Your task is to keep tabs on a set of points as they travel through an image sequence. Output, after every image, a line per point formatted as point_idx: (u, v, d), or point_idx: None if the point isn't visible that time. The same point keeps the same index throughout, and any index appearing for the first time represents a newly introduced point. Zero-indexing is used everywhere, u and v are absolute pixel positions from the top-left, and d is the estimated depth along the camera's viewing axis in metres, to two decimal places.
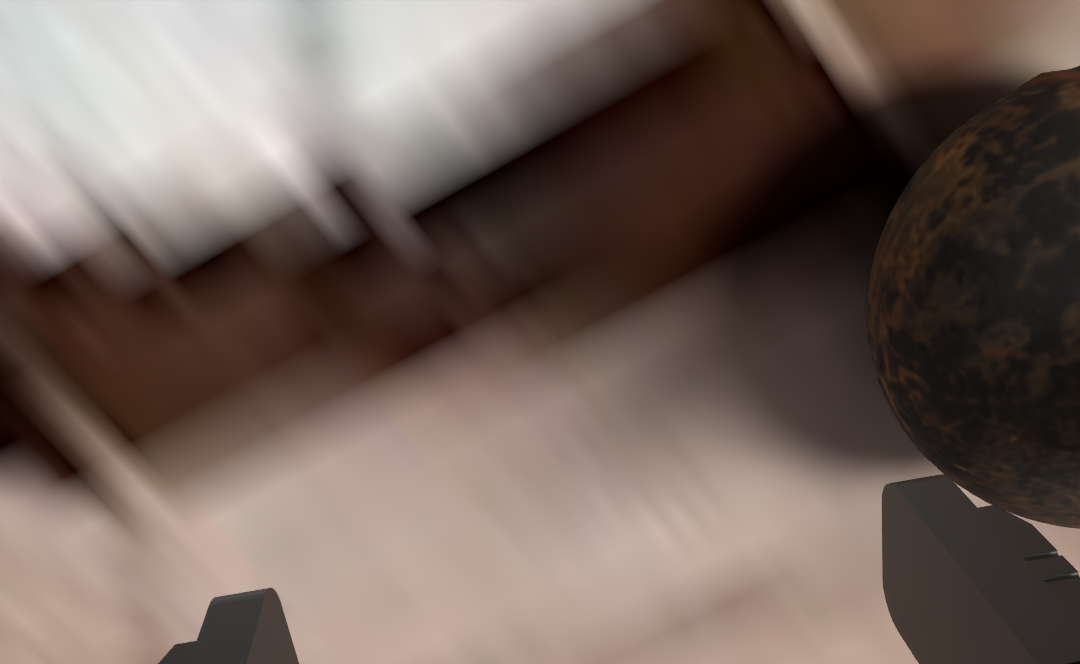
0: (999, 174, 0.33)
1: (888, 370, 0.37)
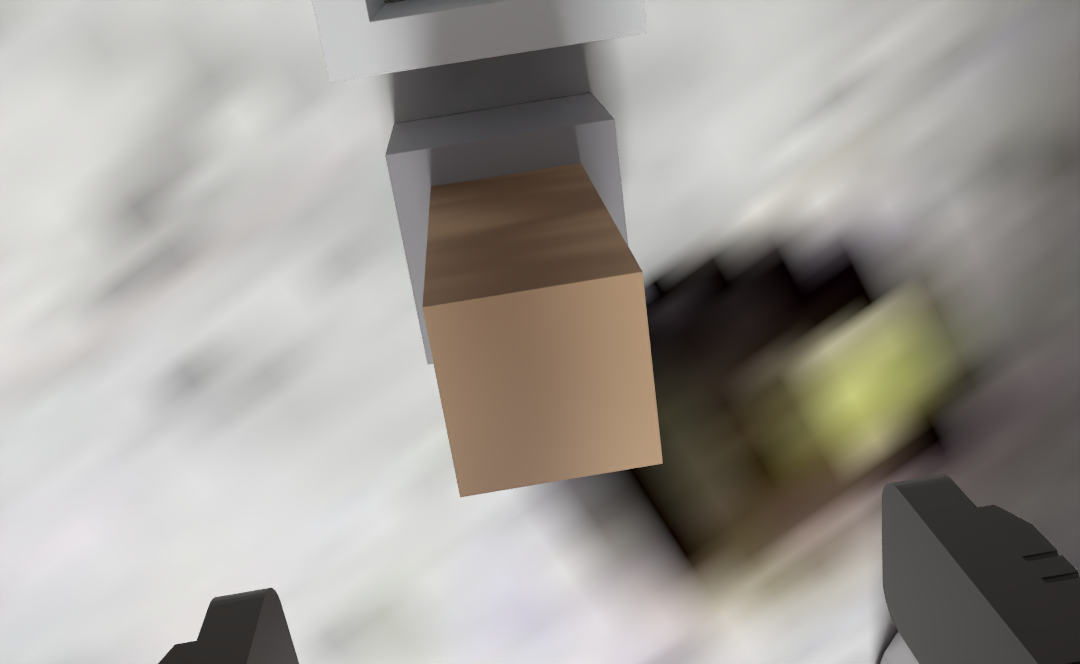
0: None
1: None
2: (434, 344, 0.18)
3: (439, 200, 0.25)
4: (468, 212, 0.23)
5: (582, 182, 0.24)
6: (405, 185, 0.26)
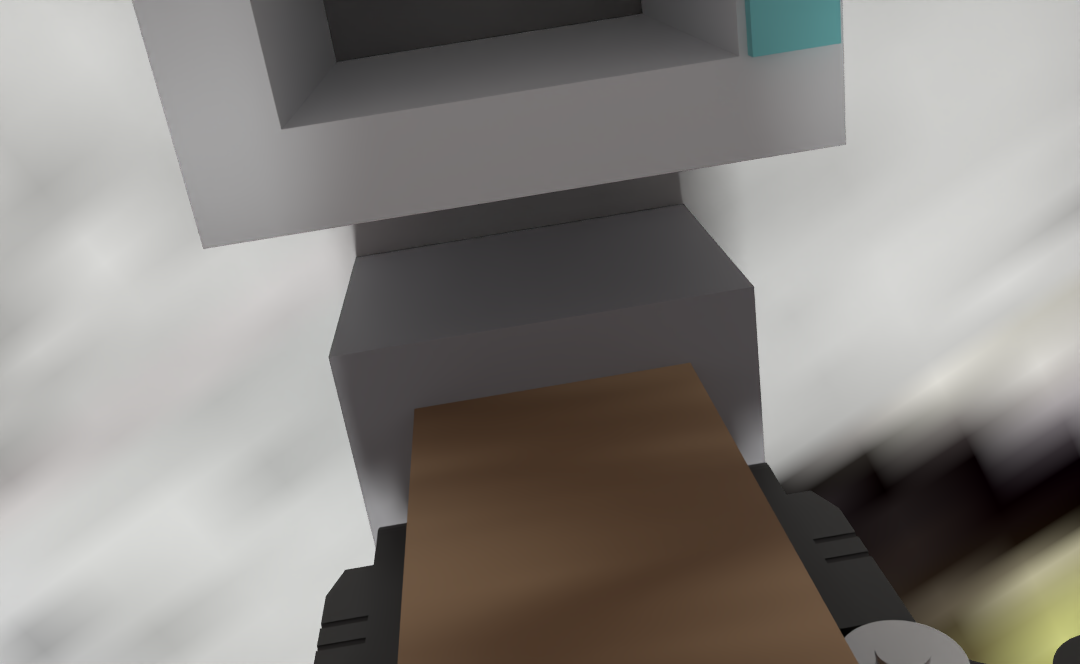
0: None
1: None
2: None
3: (429, 460, 0.13)
4: (488, 517, 0.11)
5: (710, 432, 0.12)
6: (367, 408, 0.14)
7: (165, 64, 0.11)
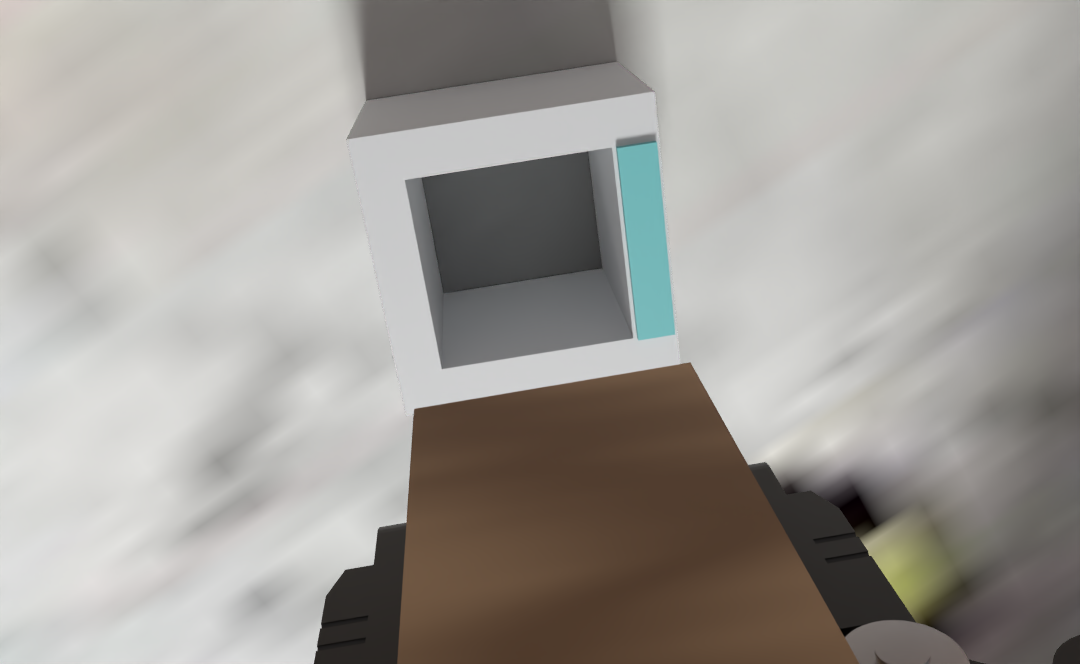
0: None
1: None
2: None
3: (429, 460, 0.13)
4: (488, 517, 0.11)
5: (710, 432, 0.12)
6: None
7: (396, 345, 0.26)
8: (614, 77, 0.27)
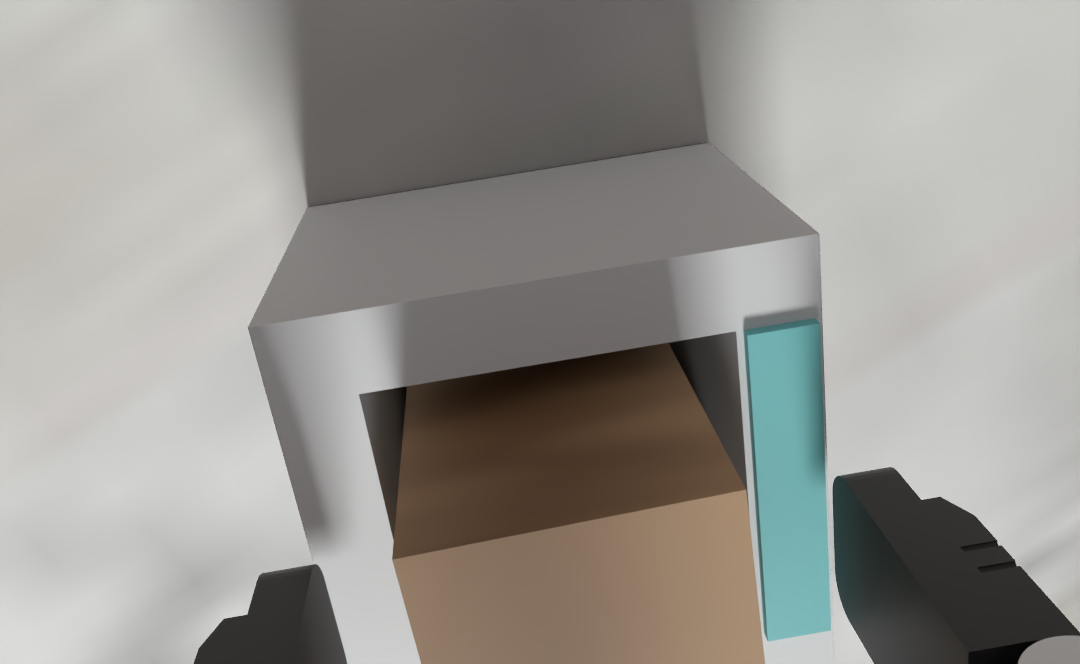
0: None
1: None
2: (414, 612, 0.11)
3: None
4: None
5: None
6: None
7: (350, 658, 0.15)
8: (720, 184, 0.16)
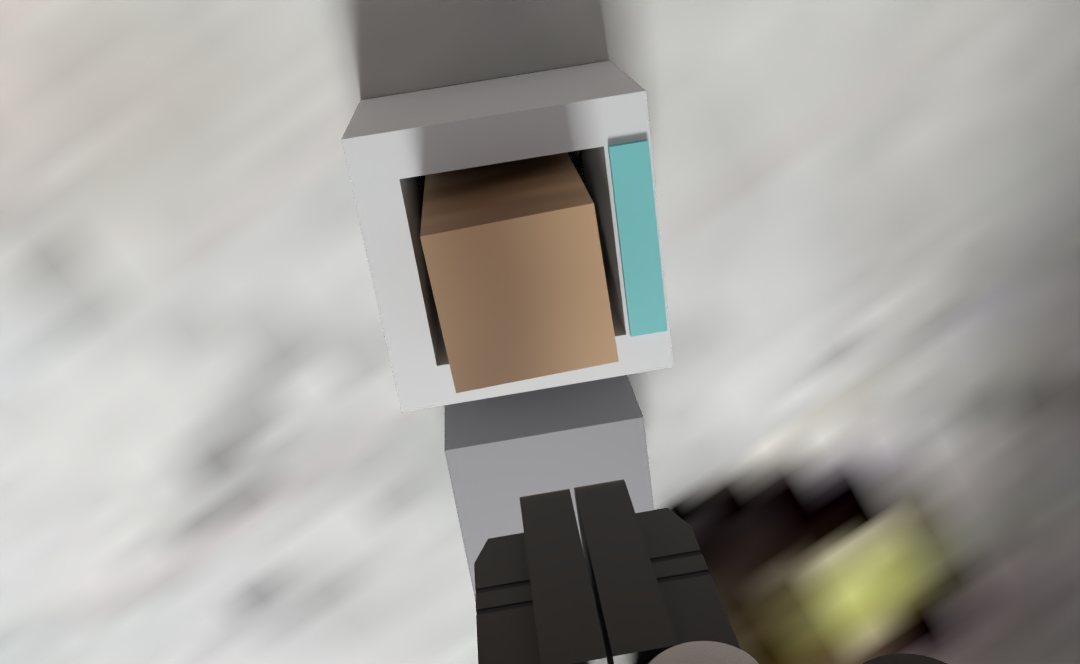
0: None
1: None
2: (430, 266, 0.23)
3: None
4: (458, 170, 0.28)
5: None
6: (461, 473, 0.30)
7: (392, 342, 0.27)
8: (606, 76, 0.27)
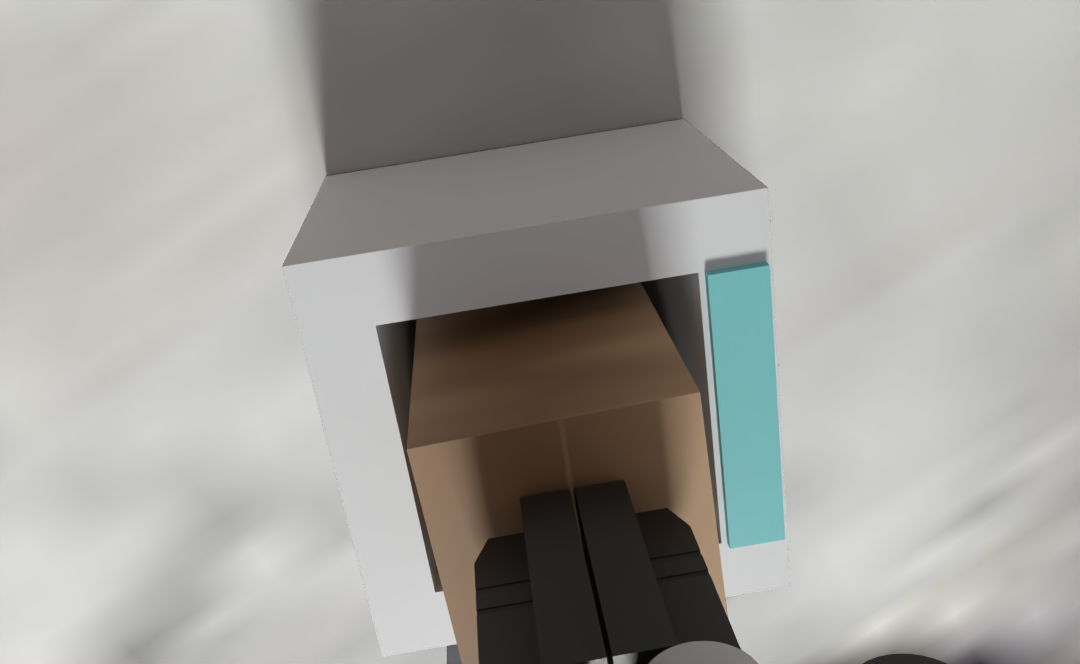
0: None
1: None
2: (424, 495, 0.14)
3: None
4: None
5: None
6: None
7: (366, 561, 0.17)
8: (690, 151, 0.18)
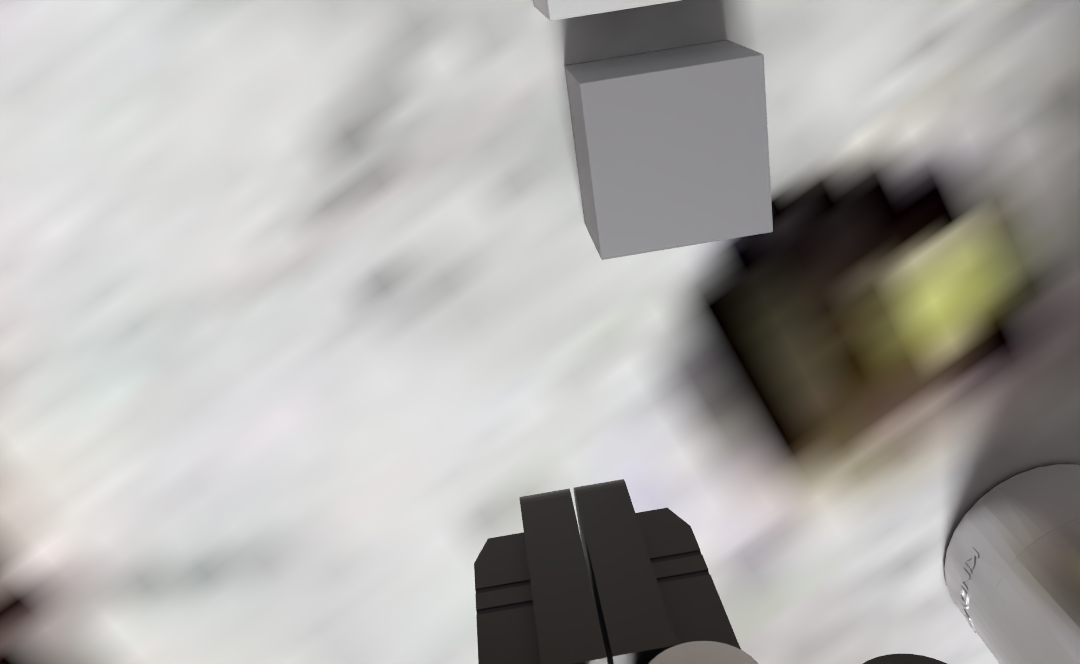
0: None
1: None
2: None
3: None
4: None
5: None
6: (594, 109, 0.32)
7: None
8: None
